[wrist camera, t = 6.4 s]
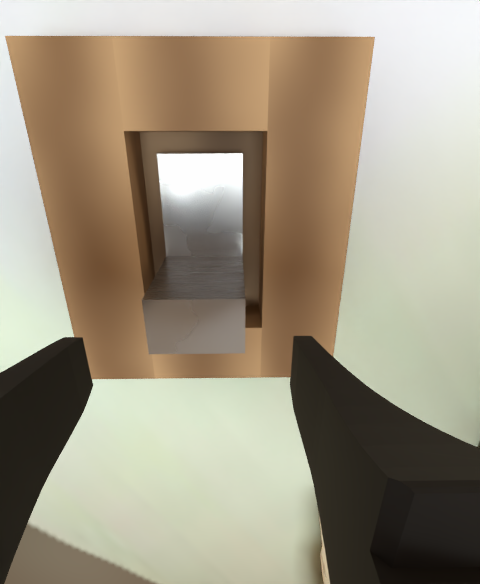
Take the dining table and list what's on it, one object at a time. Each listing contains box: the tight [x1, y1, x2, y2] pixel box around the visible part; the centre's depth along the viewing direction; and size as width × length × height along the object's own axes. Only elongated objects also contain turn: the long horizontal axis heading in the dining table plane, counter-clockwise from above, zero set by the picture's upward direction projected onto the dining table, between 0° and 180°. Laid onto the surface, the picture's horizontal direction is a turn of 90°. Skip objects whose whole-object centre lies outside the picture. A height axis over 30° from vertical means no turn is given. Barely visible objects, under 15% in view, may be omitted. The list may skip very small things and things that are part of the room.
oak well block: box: [5, 36, 375, 379], centre depth 18 cm, size 14×16×3 cm
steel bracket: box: [142, 152, 245, 354], centre depth 16 cm, size 4×8×6 cm, turn 0°
